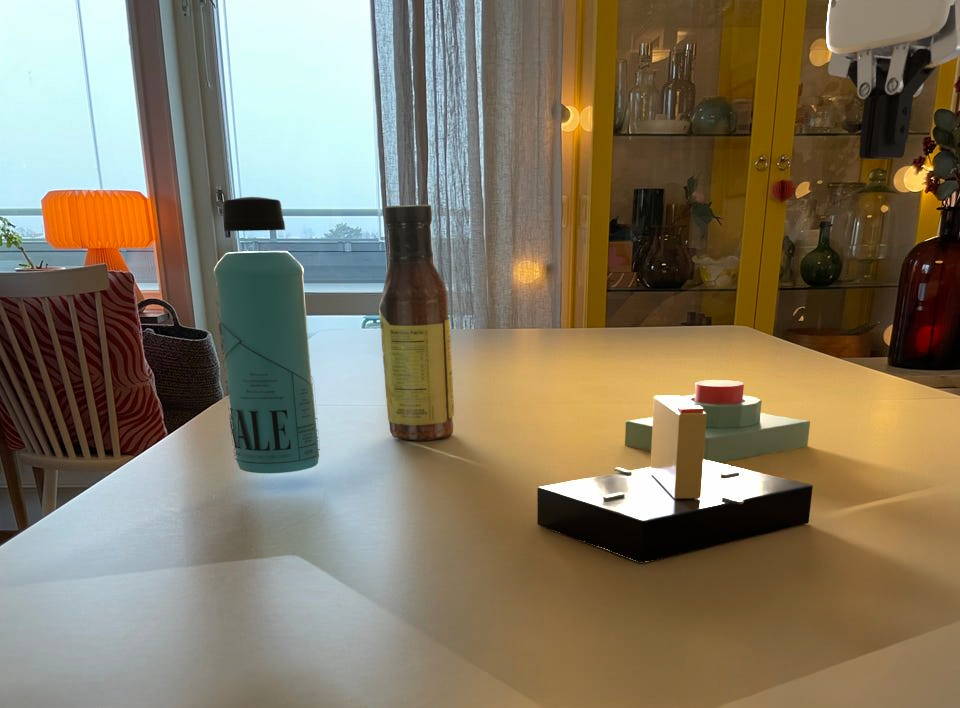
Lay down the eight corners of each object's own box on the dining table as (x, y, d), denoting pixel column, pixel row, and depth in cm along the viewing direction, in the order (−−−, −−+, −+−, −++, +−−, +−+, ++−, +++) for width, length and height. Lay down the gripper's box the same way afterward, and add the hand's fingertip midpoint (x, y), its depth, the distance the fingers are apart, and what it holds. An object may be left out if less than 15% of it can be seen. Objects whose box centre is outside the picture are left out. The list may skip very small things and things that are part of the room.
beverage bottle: (315, 471, 78) (292, 198, 70) (330, 489, 72) (306, 194, 64) (233, 478, 76) (199, 199, 68) (241, 498, 70) (206, 195, 62)
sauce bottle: (416, 428, 95) (406, 206, 87) (468, 434, 91) (462, 204, 84) (372, 439, 90) (358, 205, 82) (425, 446, 87) (415, 202, 79)
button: (717, 399, 85) (719, 378, 84) (752, 404, 82) (754, 383, 81) (684, 403, 83) (685, 382, 82) (718, 409, 80) (720, 387, 79)
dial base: (690, 491, 69) (692, 454, 68) (816, 525, 61) (821, 484, 60) (531, 523, 62) (531, 482, 61) (648, 567, 54) (650, 520, 53)
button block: (722, 430, 91) (725, 386, 89) (807, 446, 83) (813, 399, 81) (624, 446, 85) (625, 399, 83) (706, 465, 77) (710, 414, 76)
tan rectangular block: (650, 473, 64) (654, 391, 62) (674, 472, 64) (678, 391, 62) (674, 499, 57) (679, 409, 55) (701, 498, 57) (707, 408, 55)
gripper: (1059, -170, 62) (1005, 151, 69) (861, -103, 73) (832, 166, 80) (991, -194, 58) (941, 148, 65) (793, -119, 70) (769, 164, 77)
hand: (881, 157), depth 73 cm, fingers closed
